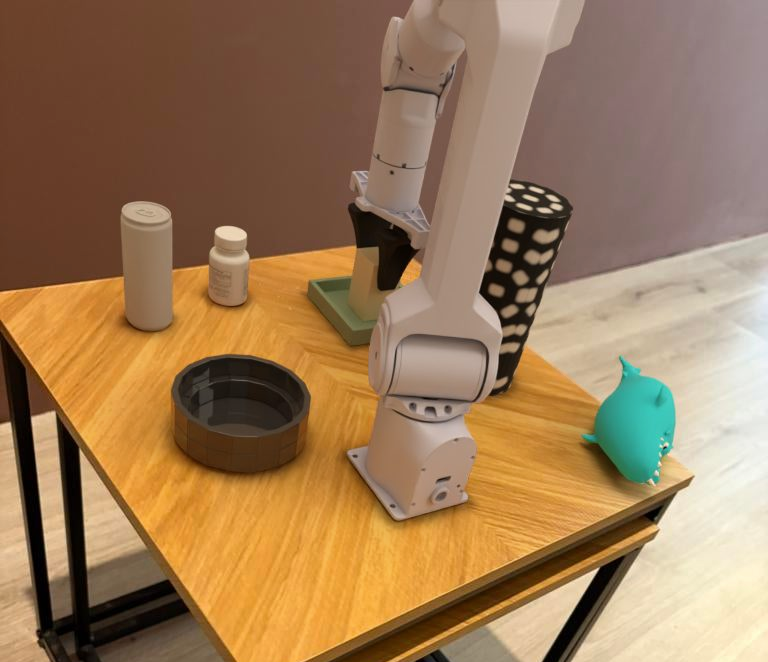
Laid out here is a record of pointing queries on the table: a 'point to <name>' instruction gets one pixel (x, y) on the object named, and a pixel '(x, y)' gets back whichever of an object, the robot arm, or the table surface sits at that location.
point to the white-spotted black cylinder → (522, 266)
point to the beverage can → (147, 265)
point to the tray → (340, 308)
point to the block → (366, 285)
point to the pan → (239, 412)
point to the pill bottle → (229, 267)
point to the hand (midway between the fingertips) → (376, 278)
